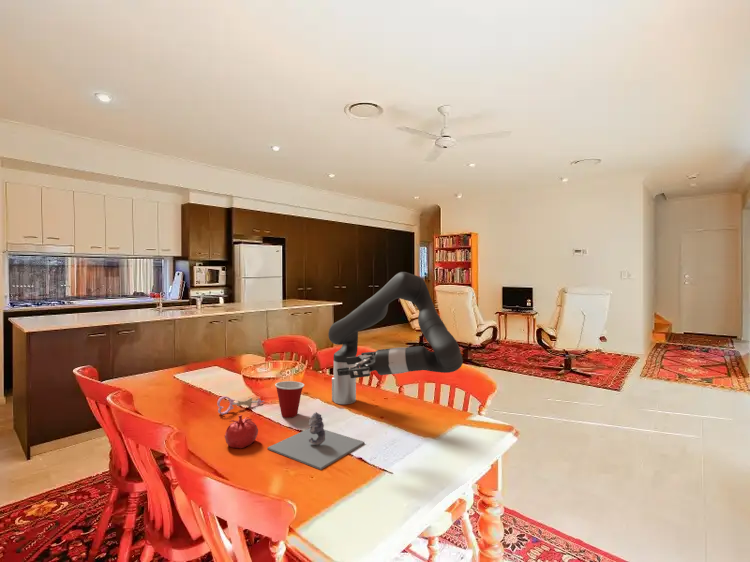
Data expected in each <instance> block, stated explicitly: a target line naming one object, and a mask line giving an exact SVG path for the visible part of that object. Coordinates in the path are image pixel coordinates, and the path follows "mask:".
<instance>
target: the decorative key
mask: <svg viewBox="0 0 750 562" xmlns="http://www.w3.org/2000/svg"><path fill="white" fill-rule="evenodd" d="M224 399H227V400H228V402H229V405H228V407H227V409H226V410H224V411H222V409H223V408H224V406H221V405H220V404H221V401H222V400H224ZM263 402H265V400H262V401H261V398H259V397H258V398H257V400H253V397H249V398H247V399H245V400H237V402H235V399H234V398H230V397H229V396H226V395H223V396H220V397H219V398H218V400H217V403H216V405H217V407H218V409H217V413H218V414H220V415H222V416H223V415H226V414H228V413H229V412H230V411H232V410H233V409H234V406H235V405H236V406H237V407H239V406H243V405H244V406H247V407H249V408H251V407H252V404H256V405H257V406H259V405H260V404H262V403H263ZM233 405H234V406H233Z"/></svg>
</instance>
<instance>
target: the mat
mask: <svg viewBox="0 0 750 562" xmlns="http://www.w3.org/2000/svg"><path fill="white" fill-rule="evenodd" d="M309 429H310V427H309V428H307V429H304V430H302V431H300V432H298V433H296V434H294V435H291V436H290V437H287V438H285V439H283V440H280V441H278V442H277V443H274V444H272V445H270V446H268V447H267V450H269V451H271V452H274V453H276V454H278V455H280V456H284V457H286V458H289V459H291V460H293V461H296V462H299V463H302V464H304V465H307V466H309V467H312V468H315V469H317V470H319V471H322V470H323V469H324V468H326V467H328V466H330V465H331V464H333V463H335V462H336V461H338V460H340V459H341V458H343V457H345V456H346V455H348V454H349V453H352V452H353V451H355V450H356V449H358V448H360V447H361V446H363V445H364V444H365V441H362V440H359V439H357V438H353V437H349V436H347V435H344V434H339V433H338V432H337V433H336V432H333V431H331V430H328V429H324V431H325V441H324V442H323V443H322V444H320V445H315V444H312V443H311V442H309V439H310V438H313V439H314V440H316V439H317V438H318V435H317V434H311V433H310V430H309Z"/></svg>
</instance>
